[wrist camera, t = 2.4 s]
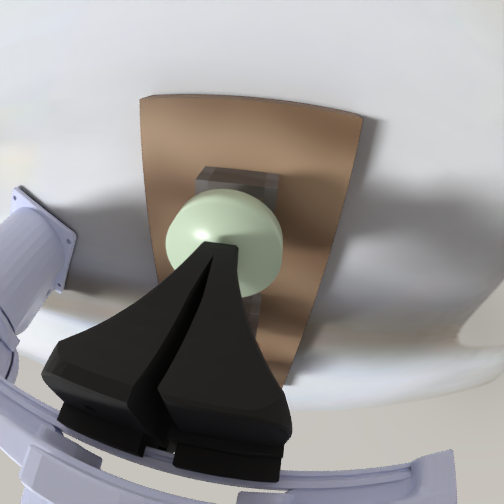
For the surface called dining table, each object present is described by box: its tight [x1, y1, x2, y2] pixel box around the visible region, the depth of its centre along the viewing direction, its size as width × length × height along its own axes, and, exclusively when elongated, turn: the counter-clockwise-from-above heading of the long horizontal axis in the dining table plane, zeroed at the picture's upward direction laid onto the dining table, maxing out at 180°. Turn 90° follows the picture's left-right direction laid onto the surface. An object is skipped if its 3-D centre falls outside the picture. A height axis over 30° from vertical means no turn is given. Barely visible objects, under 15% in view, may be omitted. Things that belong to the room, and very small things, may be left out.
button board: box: [140, 94, 363, 389], centre depth 20 cm, size 28×11×3 cm, turn 175°
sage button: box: [166, 189, 283, 297], centre depth 13 cm, size 5×5×3 cm
